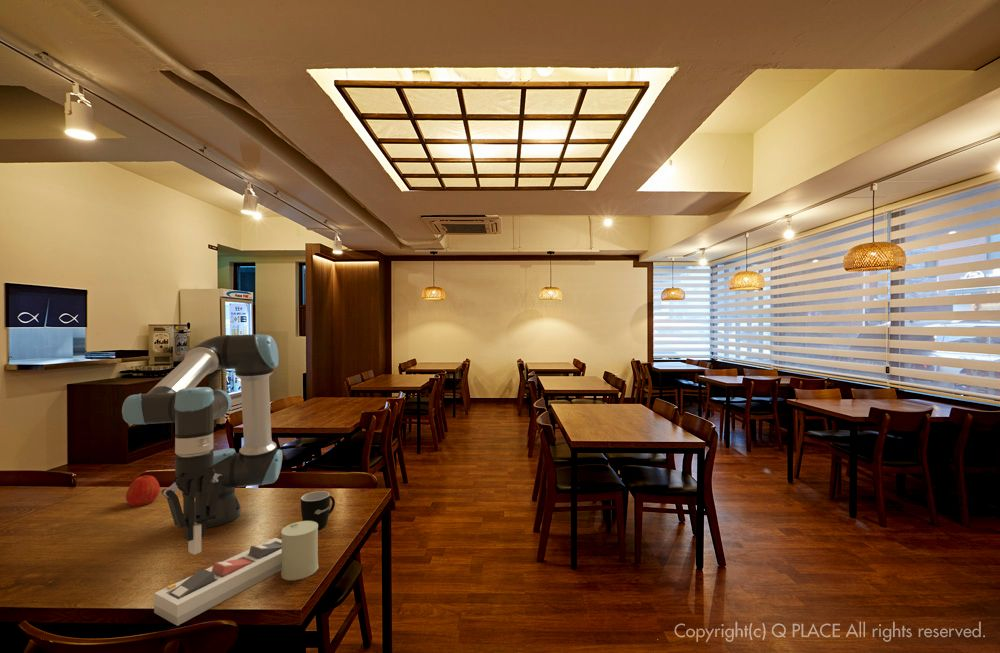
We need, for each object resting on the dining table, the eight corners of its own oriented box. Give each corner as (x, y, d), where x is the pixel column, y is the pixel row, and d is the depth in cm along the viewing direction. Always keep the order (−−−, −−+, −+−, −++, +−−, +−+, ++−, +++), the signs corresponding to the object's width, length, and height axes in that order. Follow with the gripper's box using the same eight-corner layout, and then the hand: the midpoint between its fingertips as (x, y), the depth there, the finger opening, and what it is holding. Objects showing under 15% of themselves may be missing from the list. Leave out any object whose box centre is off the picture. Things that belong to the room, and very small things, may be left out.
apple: (164, 501, 167) (164, 474, 167) (131, 510, 158) (131, 482, 158) (154, 496, 172) (154, 470, 173) (121, 504, 164) (121, 477, 164)
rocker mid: (222, 575, 105) (225, 566, 106) (211, 570, 108) (214, 562, 108) (251, 570, 112) (253, 562, 112) (240, 566, 114) (242, 558, 115)
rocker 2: (259, 557, 114) (261, 549, 114) (248, 553, 116) (251, 545, 117) (284, 553, 120) (286, 545, 121) (273, 549, 122) (275, 542, 123)
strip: (177, 625, 94) (177, 603, 94) (154, 612, 99) (154, 591, 99) (321, 548, 128) (321, 531, 128) (298, 541, 133) (298, 525, 133)
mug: (312, 534, 137) (312, 503, 137) (295, 528, 141) (294, 497, 141) (343, 520, 147) (343, 490, 147) (325, 515, 152) (325, 486, 152)
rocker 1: (181, 605, 97) (178, 598, 97) (171, 599, 100) (168, 593, 99) (215, 578, 104) (212, 572, 103) (204, 574, 106) (201, 567, 106)
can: (306, 558, 122) (306, 516, 123) (325, 568, 117) (325, 523, 117) (274, 573, 115) (273, 528, 115) (292, 584, 109) (292, 537, 110)
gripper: (171, 462, 95) (171, 569, 95) (231, 447, 107) (232, 543, 106) (154, 457, 99) (154, 561, 98) (214, 444, 110) (214, 537, 110)
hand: (194, 551), depth 102 cm, fingers closed
